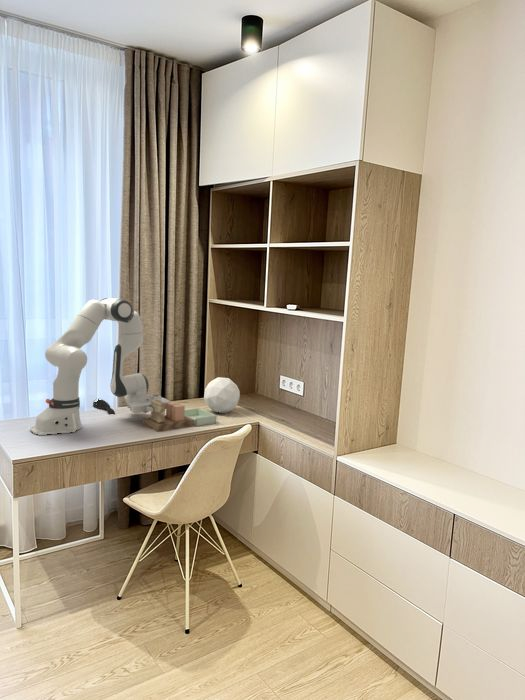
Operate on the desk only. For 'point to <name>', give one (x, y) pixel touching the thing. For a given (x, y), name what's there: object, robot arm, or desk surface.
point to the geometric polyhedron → (221, 395)
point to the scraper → (158, 411)
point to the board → (168, 423)
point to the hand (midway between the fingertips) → (157, 409)
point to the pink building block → (177, 412)
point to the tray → (200, 416)
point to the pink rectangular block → (169, 408)
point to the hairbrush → (103, 406)
